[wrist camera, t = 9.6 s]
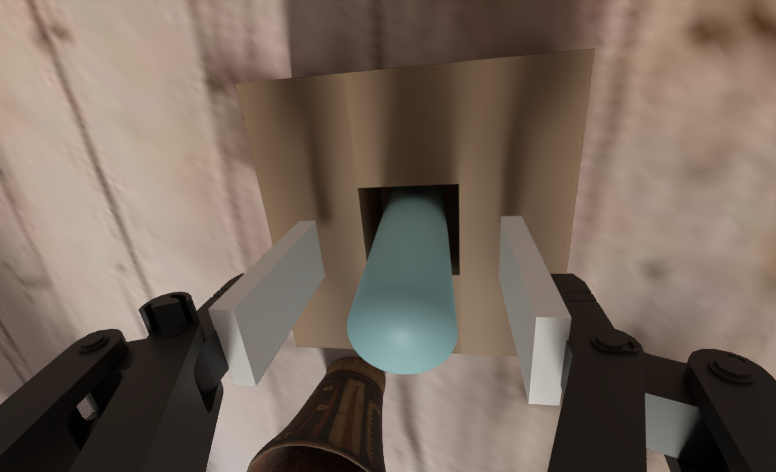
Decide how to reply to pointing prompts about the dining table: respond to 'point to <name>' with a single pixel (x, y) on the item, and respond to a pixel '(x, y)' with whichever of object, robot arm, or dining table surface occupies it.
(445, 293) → the dowel
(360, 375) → the cup
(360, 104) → the socket block
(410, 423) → the dining table surface
